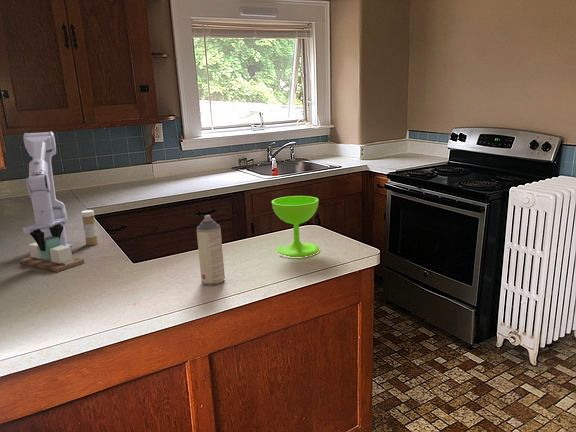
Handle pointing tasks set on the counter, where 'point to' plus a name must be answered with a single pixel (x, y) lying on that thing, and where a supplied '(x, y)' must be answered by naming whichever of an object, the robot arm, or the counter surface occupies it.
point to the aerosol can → (210, 252)
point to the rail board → (50, 264)
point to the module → (50, 245)
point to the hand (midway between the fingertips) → (49, 248)
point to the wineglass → (296, 222)
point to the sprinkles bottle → (89, 227)
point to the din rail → (54, 262)
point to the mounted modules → (53, 253)
